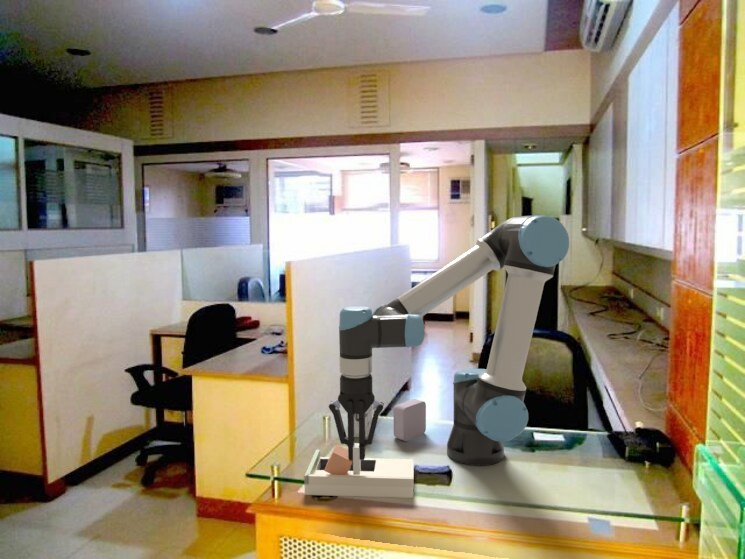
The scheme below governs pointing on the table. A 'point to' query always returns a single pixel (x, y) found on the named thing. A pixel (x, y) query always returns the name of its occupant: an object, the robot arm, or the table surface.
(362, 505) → the table surface
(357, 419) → the ink box
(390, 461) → the tray
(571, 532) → the table surface
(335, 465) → the terracotta block
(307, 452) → the table surface
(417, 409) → the electronic device
